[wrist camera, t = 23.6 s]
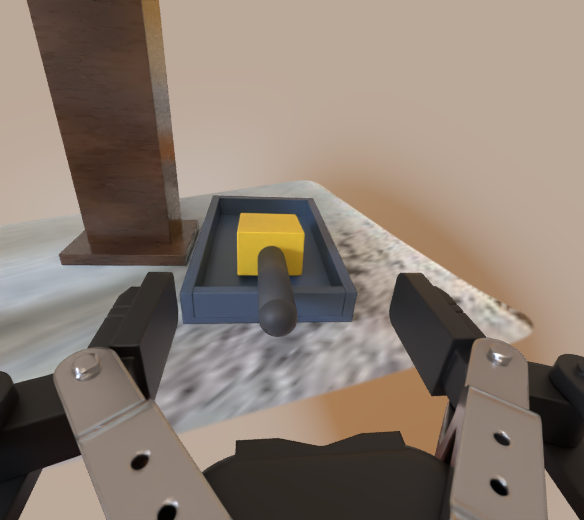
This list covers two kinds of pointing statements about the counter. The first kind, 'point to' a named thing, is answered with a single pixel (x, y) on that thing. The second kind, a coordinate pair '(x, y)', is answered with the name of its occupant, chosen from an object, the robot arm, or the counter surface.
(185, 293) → the tray
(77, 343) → the counter surface
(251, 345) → the counter surface
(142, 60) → the wooden pedestal stand
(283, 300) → the sponge brush
